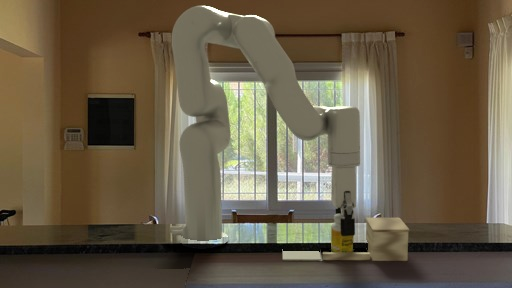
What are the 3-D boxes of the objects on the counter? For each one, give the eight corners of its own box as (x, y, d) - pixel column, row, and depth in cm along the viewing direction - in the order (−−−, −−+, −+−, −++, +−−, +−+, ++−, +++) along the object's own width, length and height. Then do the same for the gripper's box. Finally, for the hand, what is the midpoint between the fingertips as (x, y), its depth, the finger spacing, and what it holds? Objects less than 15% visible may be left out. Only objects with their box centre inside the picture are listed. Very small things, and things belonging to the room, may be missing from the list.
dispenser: (319, 261, 113) (319, 229, 112) (315, 246, 123) (315, 217, 122) (408, 261, 112) (409, 229, 111) (398, 246, 122) (399, 217, 121)
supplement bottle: (342, 248, 121) (343, 211, 120) (358, 254, 117) (358, 216, 116) (326, 252, 118) (326, 214, 117) (341, 259, 114) (342, 220, 113)
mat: (282, 260, 114) (282, 259, 114) (282, 246, 123) (282, 245, 123) (321, 260, 114) (321, 259, 114) (318, 246, 122) (318, 245, 122)
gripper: (324, 153, 123) (325, 218, 125) (331, 165, 106) (333, 241, 108) (354, 152, 123) (355, 218, 125) (366, 164, 106) (367, 240, 108)
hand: (344, 228), depth 117 cm, fingers open, 9 cm apart
